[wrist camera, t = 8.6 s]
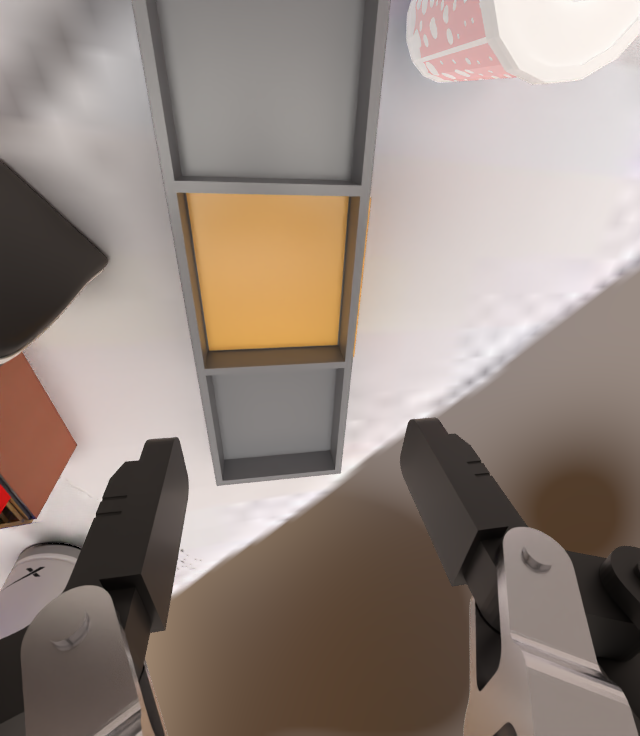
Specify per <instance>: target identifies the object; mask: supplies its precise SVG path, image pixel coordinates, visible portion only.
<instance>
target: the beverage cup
mask: <svg viewBox="0 0 640 736" xmlns="http://www.w3.org/2000/svg"><path fill="white" fill-rule="evenodd" d="M639 34H640V0H411V3H410V7H409V10H408V13H407V27H406V41H407V45H408V49H409V52H410V56H411V60H412V62H413V63H414V65H415V66H416V67H417V69H418V70H419V71H420V72H421V74H422V75H423V76H424V77H426V78H429V79H431V80H433V81H435V82H437V83H442V82H456V81H471V80H485V79H500V78H514V77H518V78H520V79H522V80H524V81H526V82H528V83H530V84H532V85H536V84H551V83H560V82H569V81H577V80H582V79H584V78H585V77H587V76H589V75H590V74H592V73H594V72H595V71H597V70H599V69H600V68H602V67H604V66H605V65H607V64H609V63H610V62H612V61H614V60H615V59H617V58H618V57H619V56H620V55H621V53H622V52H623V51H624V50H625V49H626V48H627V47H628V46H629V45H630V44H631V43H632V41H633V40H634V39H635V38H636V37H637V36H638V35H639Z"/></svg>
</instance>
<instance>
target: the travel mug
mask: <svg viewBox="0 0 640 736" xmlns="http://www.w3.org/2000/svg"><path fill="white" fill-rule="evenodd" d="M81 549H82V548H80V547H77V546H75V545H71V544H67V543H57V542H53V543H42V544H38V545H34V546H32V547H30V548H28V549H26V550H25V551H23V552H22V553H21V554H20V556H19V557H18V559H17V561H16V563H15V565H14V567H13V569H12V571H11V573H10V574H9V576H8V578H7V579H6V581H5V583H4V585H3V587H2V589H1V591H0V639H2V638H4V637H7V636H9V635H11V634H13V633H15V632H17V631H19V630H21V629H23V628H25V627H26V626H28V625H30V624H31V622H32V621H33V619H34V618H35V617H36V615H37V614H38V613H39V612H40V611H41V610H42V609H43V608H44V607H45V606H46V605H47V604H48V603H49V602H51V601H52V600H53V599H54V598H56V597H57V596H59V595H61V594H62V592H63V590H64V589H65V587H66V585H67V583H68V581H69V578H70V576H71V574H72V571H73V569H74V566H75V564H76V561H77V559H78V556H79V554H80V551H81Z"/></svg>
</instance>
